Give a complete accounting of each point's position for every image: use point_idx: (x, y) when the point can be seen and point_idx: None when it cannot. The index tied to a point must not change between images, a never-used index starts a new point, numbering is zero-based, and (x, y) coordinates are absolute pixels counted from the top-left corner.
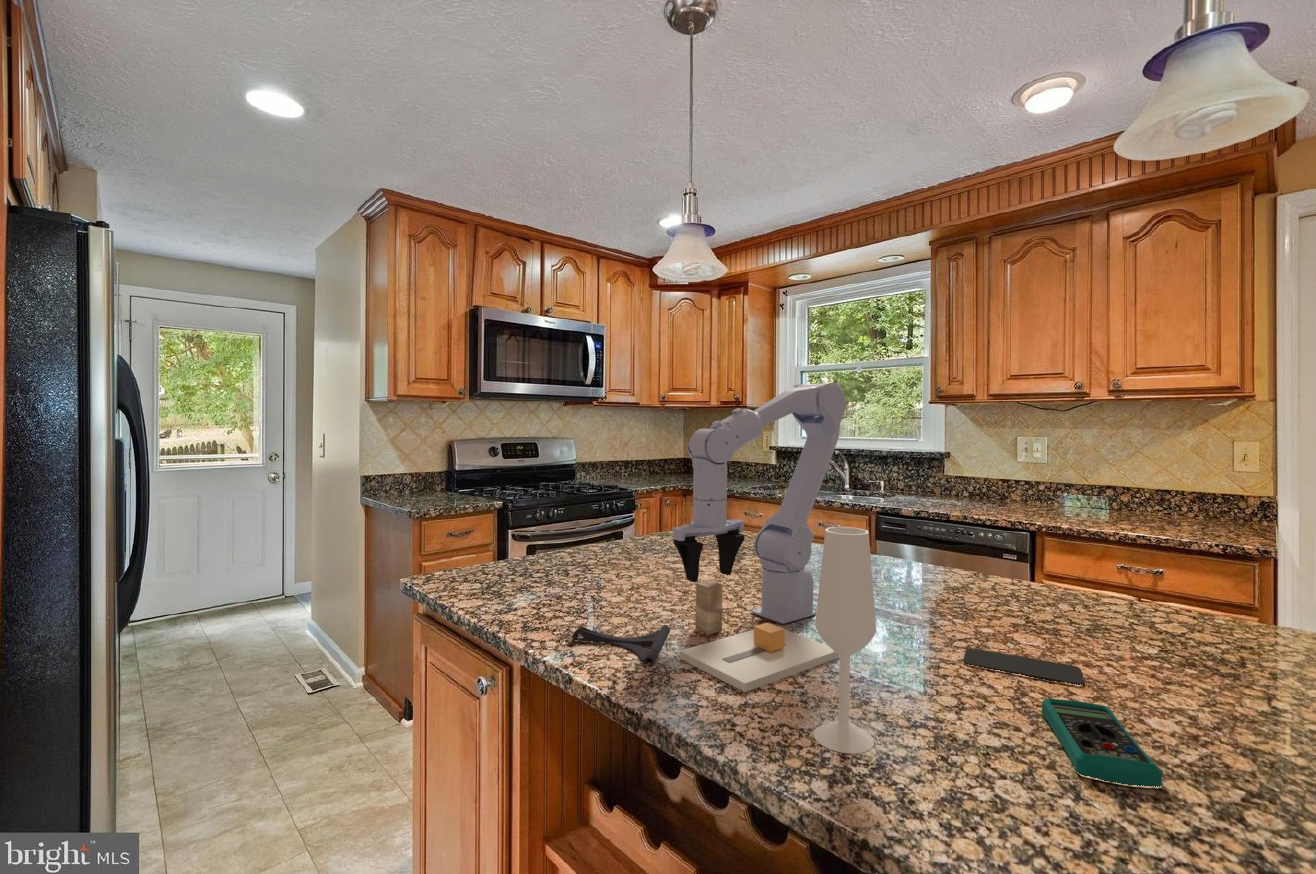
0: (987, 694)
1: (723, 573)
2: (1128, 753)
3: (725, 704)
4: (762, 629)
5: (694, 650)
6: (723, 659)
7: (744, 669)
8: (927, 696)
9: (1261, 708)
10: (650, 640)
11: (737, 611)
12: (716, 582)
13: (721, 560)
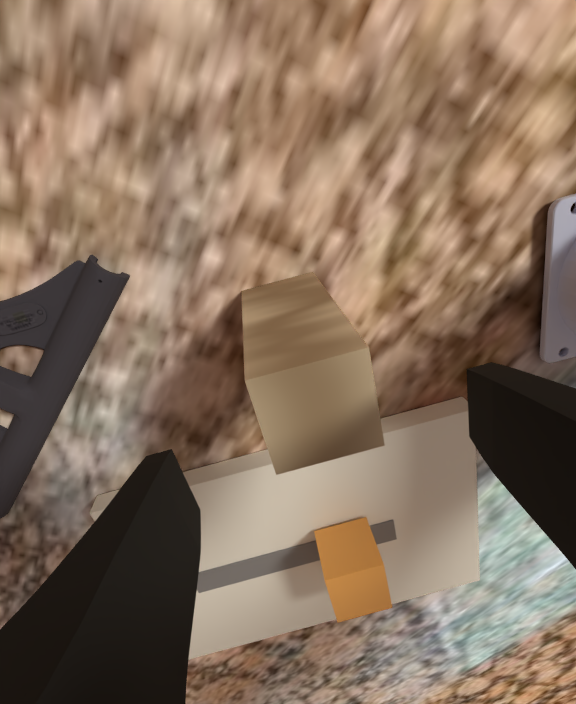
0: (538, 681)
1: (470, 398)
2: None
3: None
4: (333, 601)
5: None
6: None
7: (217, 618)
8: (461, 677)
9: None
10: (4, 409)
11: (521, 146)
12: (376, 404)
13: (539, 430)
